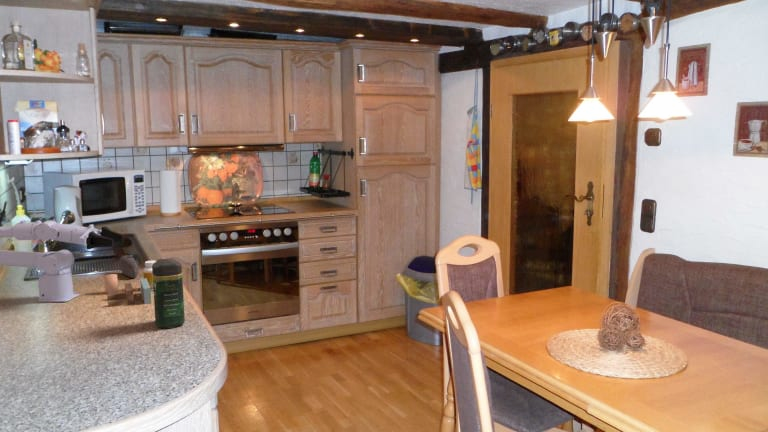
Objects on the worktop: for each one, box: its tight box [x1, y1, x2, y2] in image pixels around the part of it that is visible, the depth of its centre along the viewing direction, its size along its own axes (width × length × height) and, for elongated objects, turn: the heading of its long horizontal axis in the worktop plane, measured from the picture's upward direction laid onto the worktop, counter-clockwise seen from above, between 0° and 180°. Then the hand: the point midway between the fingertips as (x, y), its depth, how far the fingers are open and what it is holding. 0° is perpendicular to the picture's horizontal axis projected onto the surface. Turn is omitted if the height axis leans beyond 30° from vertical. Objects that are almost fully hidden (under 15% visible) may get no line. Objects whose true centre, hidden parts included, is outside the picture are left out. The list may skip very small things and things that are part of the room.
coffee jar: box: [152, 258, 186, 329], centre depth 173 cm, size 10×8×19 cm
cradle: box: [106, 282, 135, 308], centre depth 196 cm, size 8×10×4 cm
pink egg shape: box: [103, 273, 119, 295], centre depth 207 cm, size 4×4×6 cm
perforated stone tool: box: [118, 254, 139, 279], centre depth 230 cm, size 15×5×7 cm, turn 35°
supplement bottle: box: [142, 260, 157, 292], centre depth 211 cm, size 5×5×10 cm
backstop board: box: [139, 278, 152, 305], centre depth 200 cm, size 2×14×5 cm, turn 26°
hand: (117, 240), depth 198 cm, fingers open, 7 cm apart
